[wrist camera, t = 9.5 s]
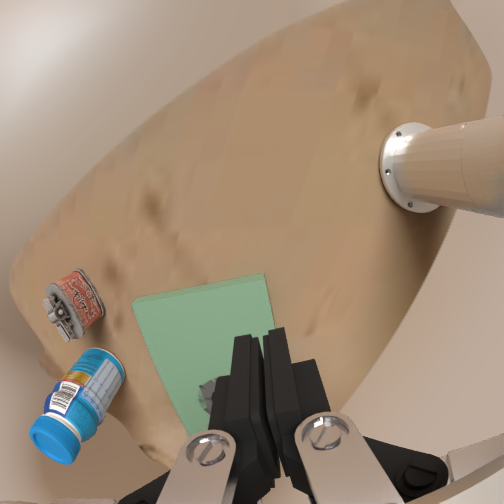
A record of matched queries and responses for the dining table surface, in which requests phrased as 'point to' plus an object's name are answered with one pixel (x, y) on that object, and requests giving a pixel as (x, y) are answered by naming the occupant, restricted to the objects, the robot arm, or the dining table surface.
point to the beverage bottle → (77, 405)
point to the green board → (201, 338)
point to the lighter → (73, 304)
